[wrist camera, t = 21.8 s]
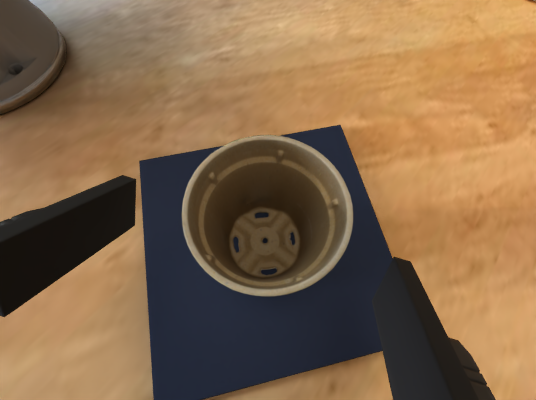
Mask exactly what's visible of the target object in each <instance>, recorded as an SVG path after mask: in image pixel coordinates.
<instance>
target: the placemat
mask: <svg viewBox="0 0 536 400" xmlns="http://www.w3.org/2000/svg"><path fill="white" fill-rule="evenodd" d="M281 136H283V137H288V138H291V139H294V140H297V141H300V142H302V143H304V144H306V145H308V146H310V147H312V148H314V149H315V150H317V151H318V152H319V153H321V154H322V155H323V156H324V157H326V158H327V159H328V160H329V161H330V162H331V163H332V165H334V166H335V168H336V169H337V170H338V172H339V173H340V175H341V176H342V178H343V180H344V182H345V184H346V186H347V188H348V191H349V194H350V197H351V202H352V206H353V226H352V232H351V236H350V240H349V243H348V245H347V248H346V250H345V252H344V253H343V255H342V257H341V258H340V260H339V261H338V263H337V264H336V265H335V266H334V268H333V269H332V270H331V271H330V272H329V273H327V274H326V275H325V276H324V277H323V278H321V279H320V280H319V281H317V282H316V283H314V284H313V285H311V286H309V287H307V288H305V289H302V290H299V291H297V292H294V293H290V294H286V295H280V296H255V295H249V294H245V293H241V292H238V291H235V290H232V289H230V288H229V287H227V286H225V285H223V284H221V283H220V282H218V281H217V280H215V279H214V278H213V277H211V276H210V275H209V274H208V273H207V272H205V270H204V269H203V268H202V267H201V266H200V265H199V263H198V262H197V261H196V259H195V258H194V256H193V254H192V253H191V251H190V249H189V247H188V245H187V242H186V239H185V236H184V231H183V226H182V206H183V198H184V195H185V192H186V188H187V185H188V183H189V181H190V179H191V177H192V176H193V174H194V172H195V171H196V169H197V168H198V167H199V165H200V164H201V163H202V162H203V161H204V160H205V159H206V158H207V157H208V156H209V155H210V154H212V153H214V151H216V150H217V149H219V148H221V147H223V146H220V147H214V148H209V149H203V150H197V151H192V152H186V153H181V154H175V155H170V156H164V157H158V158H153V159H147V160H142V161H140V178H141V195H142V212H143V228H144V245H145V262H146V279H147V295H148V312H149V329H150V346H151V362H152V379H153V396H154V400H202V399H206V398H210V397H213V396H217V395H221V394H224V393H228V392H232V391H235V390H239V389H243V388H247V387H250V386H254V385H258V384H261V383H265V382H269V381H272V380H276V379H280V378H284V377H287V376H291V375H295V374H298V373H302V372H306V371H309V370H313V369H317V368H320V367H324V366H328V365H332V364H335V363H339V362H343V361H346V360H350V359H354V358H357V357H361V356H365V355H369V354H372V353H376V352H380V351H383V350H382V346H381V341H380V336H379V332H378V327H377V323H376V318H375V313H374V309H373V304H372V299H373V297H374V295H375V293H376V291H377V289H378V287H379V285H380V283H381V281H382V280H383V278H384V276H385V274H386V272H387V270H388V268H389V266H390V264H391V262H392V260H393V258H392V256H391V253H390V251H389V248H388V246H387V243H386V240H385V238H384V235H383V233H382V230H381V228H380V225H379V222H378V220H377V217H376V215H375V212H374V210H373V207H372V204H371V202H370V199H369V197H368V194H367V192H366V189H365V187H364V184H363V181H362V179H361V176H360V174H359V171H358V169H357V166H356V163H355V161H354V158H353V156H352V153H351V151H350V148H349V145H348V143H347V140H346V138H345V135H344V133H343V130H342V128H341V125H337V126H331V127H326V128H320V129H314V130H309V131H303V132H298V133H292V134H287V135H281ZM268 216H269V214H268V213H256V214H255V218H256V219H257V218H264V217H268ZM290 235H291V238H289V239H290V240H291V242H292V245H294V244H295V238H294V234H293V232H292V233H290ZM262 241H263V243H267V241H268V240H267V239H266V238H264V239H263V240H262ZM233 242H234V248H235V250H236V252H239V246H238V243H239V239H238V238H237V237H234V239H233ZM276 272H277V269H276V268H273V269H267V270H262V271H261V273H262V274H263V275H272V274H274V273H276Z"/></svg>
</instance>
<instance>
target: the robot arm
mask: <svg viewBox="0 0 536 400" xmlns="http://www.w3.org/2000/svg"><path fill="white" fill-rule="evenodd" d="M65 59H66V43H65V40H64V38H63V36H62V35H61V33H60V32H59V30H58V29H57V28H56V26H55V25H54V24H53V22H52V21H51V20H50V19H49V18H48V17H47V16H46V15H45V14H44V13H43V12H42V11H41V10H40V9H39V8H38V7H36V6H35V5H33V4H32V3H31V2H30V1H29V0H0V114H2V113H5V112H8V111H11V110H13V109H16V108H18V107H20V106H22V105H24V104H26V103H27V102H29V101H31V100H32V99H34V98H35V97H37V96H38V95H39V94H41V93H42V92H43V91H44V90H45V89H46V88H48V87H49V86H50V85H51V83H52V82H53V81H54V80H55V79H56V77H57V76H58V75H59V73H60V71H61V69H62V68H63V65H64V63H65ZM135 200H136V179H133V178H130V177H127V176H123V175H122V176H119V177H117V178H114V179H112V180H110V181H107V182H105V183H102V184H100V185H98V186H95V187H93V188H90V189H88V190H86V191H83V192H81V193H78V194H76V195H73V196H71V197H69V198H66V199H64V200H61V201H59V202H57V203H54V204H52V205H49V206H47V207H45V208H41V209H36V210H32V211H27V212H24V213H22V214H19V215H17V216H14V217H12V218H11V219H7V220H4V221H2V222H0V316H2V317H6V316H7V315H8V314H10V313H11V312H13V311H14V310H15V309H17V308H18V307H20V306H21V305H23V304H24V303H25V302H27V301H28V300H30V299H31V298H33V297H34V296H35V295H37V294H38V293H40V292H41V291H42V290H44V289H45V288H47V287H48V286H50V285H51V284H52V283H54V282H55V281H57V280H58V279H59V278H61V277H62V276H64V275H65V274H67V273H68V272H69V271H71V270H72V269H74V268H75V267H77V266H78V265H79V264H81V263H82V262H84V261H85V260H86V259H88V258H89V257H91V256H92V255H94V254H95V253H96V252H98V251H99V250H101V249H102V248H104V247H105V246H106V245H108V244H109V243H111V242H112V241H113V240H115V239H116V238H118V237H119V236H121V235H122V234H123V233H125V232H126V231H128V230H129V229H130V228H132V227H133V226H135ZM372 304H373V309H374V313H375V318H376V323H377V327H378V332H379V336H380V341H381V346H382V350H383V355H384V359H385V364H386V368H387V373H388V378H389V382H390V387H391V391H392V396H393V400H496V399H495V398H494V396H493V394H492V392H491V390H490V389H489V387H487V383H486V381H485V379H484V378H483V376H482V374H480V373H479V371H480V370H479V368H478V367H477V365H476V363H475V361H474V359H473V358H472V356H471V355H470V353H469V352H468V351H467V350H466V349H465V348H464V347H463V345H462V344H461V343H460V342H459V341H458V340H455V339H451V338H448V336H447V334H446V332H445V330H444V328H443V326H442V324H441V322H440V320H439V318H438V316H437V314H436V312H435V310H434V308H433V306H432V304H431V302H430V300H429V298H428V296H427V294H426V292H425V290H424V288H423V286H422V284H421V282H420V280H419V278H418V276H417V274H416V272H415V269H414V267H413V265H412V263H411V262H410V261H406V260H403V259H400V258H396V257H394V258H393V260H392V262H391V264H390V266H389V268H388V270H387V272H386V274H385V276H384V278H383V280H382V281H381V283H380V285H379V287H378V289H377V291H376V293H375V295H374V297H373V299H372Z"/></svg>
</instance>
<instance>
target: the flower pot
mask: <svg viewBox="0 0 536 400" xmlns="http://www.w3.org/2000/svg"><path fill="white" fill-rule="evenodd" d="M256 213H268V214H269V216H268V217H264V218H257V219H256V218H255V214H256ZM182 226H183V231H184V236H185V239H186V242H187V245H188V247H189V249H190V251H191V253H192V254H193V256H194V258H195V259H196V261H197V262H198V263H199V265H200V266H201V267H202V268H203V269H204V270H205V272H207V273H208V274H209V275H210V276H211V277H213V278H214V279H215V280H217V281H218V282H220V283H221V284H223V285H225V286H227V287H229V288H230V289H232V290H235V291H238V292H241V293H245V294H249V295H255V296H280V295H286V294H290V293H294V292H297V291H299V290H302V289H305V288H307V287H309V286H311V285H313V284H314V283H316V282H317V281H319V280H320V279H321V278H323V277H324V276H325V275H326V274H327V273H329V272H330V271H331V270H332V269H333V268H334V266H335V265H336V264H337V263H338V261H339V260H340V258H341V257H342V255H343V253H344V252H345V250H346V248H347V245H348V243H349V240H350V236H351V232H352V226H353V206H352V202H351V197H350V194H349V191H348V188H347V186H346V184H345V182H344V180H343V178H342V176H341V175H340V173H339V172H338V170H337V169H336V168H335V166H334V165H332V163H331V162H330V161H329V160H328V159H327V158H326V157H324V156H323V155H322V154H321V153H319V152H318V151H317V150H315V149H314V148H312V147H310V146H308V145H306V144H304V143H302V142H300V141H297V140H294V139H291V138H288V137H283V136H276V135H257V136H251V137H246V138H242V139H238V140H236V141H233V142H231V143H229V144H227V145H225V146H223V147H221V148H219V149H217V150H216V151H214V153H212V154H210V155H209V156H208V157H207V158H206V159H205V160H204V161H203V162H202V163H201V164H200V165H199V167H198V168H197V169H196V171H195V172H194V174H193V176H192V177H191V179H190V181H189V183H188V185H187V188H186V192H185V195H184V198H183V206H182ZM292 232H293V234H294V238H295V244H294V245H292V242H291V240H290V239H289V238H291V235H290V233H292ZM234 237H237V238H238V239H239V243H238V246H239V252H236V250H235V248H234V242H233V239H234ZM264 238H266V239H267V240H268V241H267V243H263V241H262V240H263V239H264ZM273 268H276V269H277V272H276V273H274V274H272V275H263V274H262V273H261V271H262V270H267V269H273Z"/></svg>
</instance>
